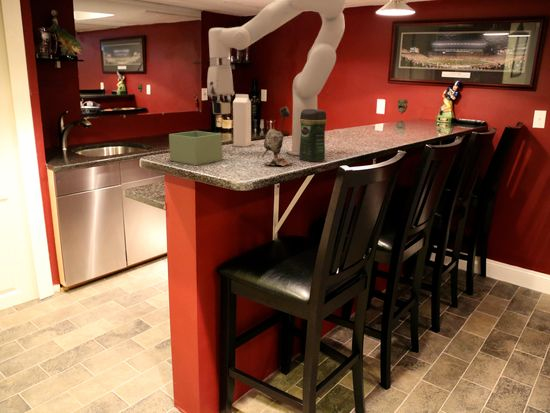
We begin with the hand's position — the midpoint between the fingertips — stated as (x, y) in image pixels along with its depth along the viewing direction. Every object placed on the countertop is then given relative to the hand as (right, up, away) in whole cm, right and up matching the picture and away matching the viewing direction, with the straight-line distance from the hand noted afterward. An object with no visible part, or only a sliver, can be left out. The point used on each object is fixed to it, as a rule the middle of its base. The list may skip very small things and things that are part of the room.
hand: (221, 112), depth 172 cm
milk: (+6, -10, +25) cm, 27 cm away
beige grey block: (0, 0, 0) cm, 0 cm away
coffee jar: (+34, -19, -6) cm, 40 cm away
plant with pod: (+21, -22, -16) cm, 34 cm away
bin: (-8, -20, -10) cm, 24 cm away
